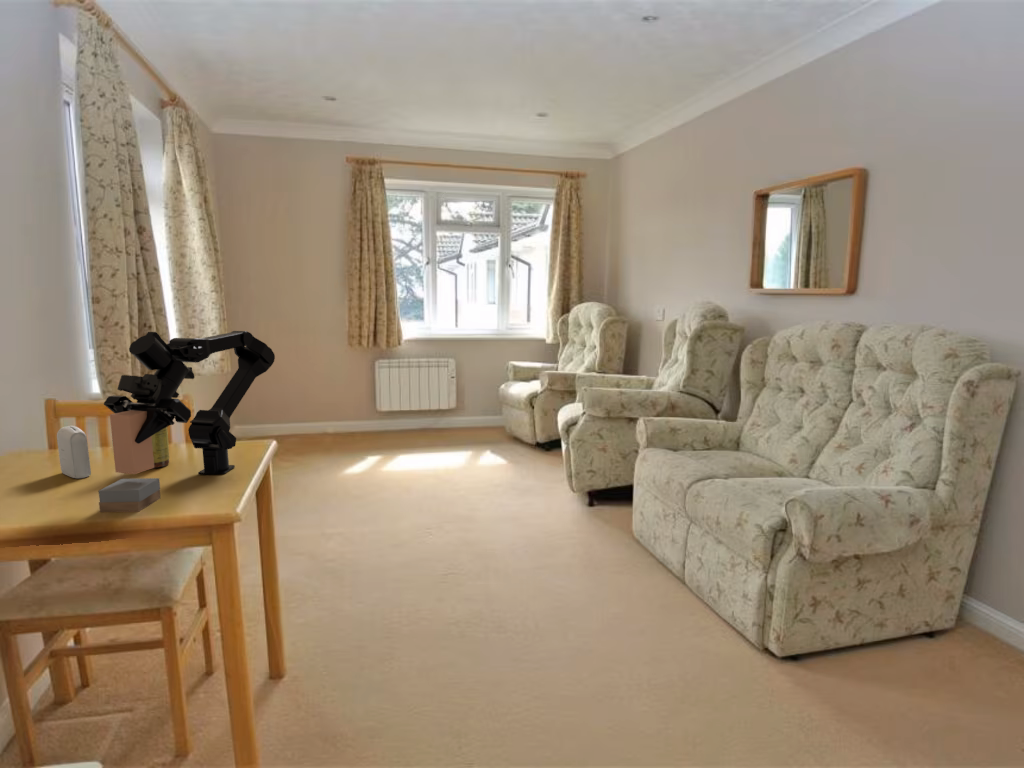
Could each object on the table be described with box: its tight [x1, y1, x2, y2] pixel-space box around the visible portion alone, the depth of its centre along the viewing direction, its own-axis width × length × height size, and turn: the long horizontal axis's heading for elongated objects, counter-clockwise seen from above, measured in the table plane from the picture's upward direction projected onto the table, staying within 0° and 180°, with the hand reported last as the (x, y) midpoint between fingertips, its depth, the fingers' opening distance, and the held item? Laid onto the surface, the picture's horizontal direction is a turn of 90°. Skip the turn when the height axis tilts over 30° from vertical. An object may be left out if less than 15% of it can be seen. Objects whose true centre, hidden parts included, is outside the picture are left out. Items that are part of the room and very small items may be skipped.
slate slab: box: [98, 477, 161, 502], centre depth 127 cm, size 8×8×2 cm
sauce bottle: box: [151, 427, 170, 469], centre depth 154 cm, size 7×6×20 cm
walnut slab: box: [98, 489, 161, 513], centre depth 127 cm, size 8×8×2 cm
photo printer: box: [56, 425, 92, 479], centre depth 148 cm, size 10×4×12 cm, turn 53°
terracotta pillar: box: [109, 410, 155, 475], centre depth 127 cm, size 5×5×12 cm
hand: (126, 441), depth 126 cm, fingers closed on terracotta pillar, 5 cm apart
